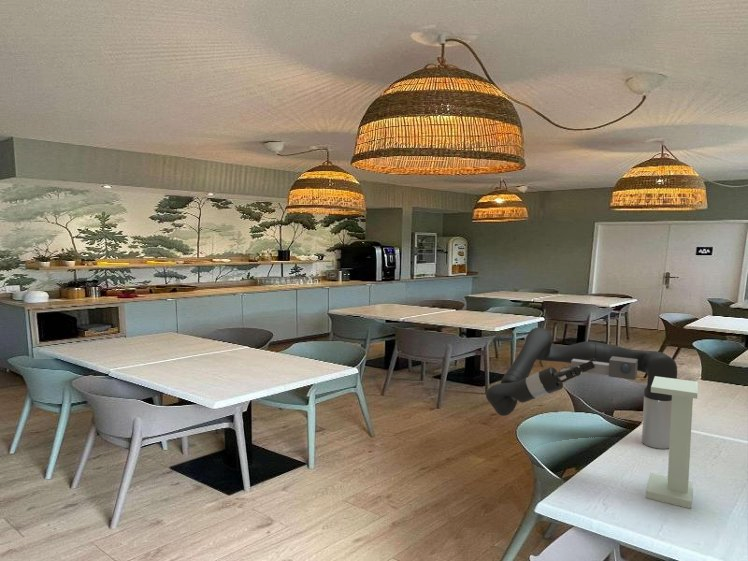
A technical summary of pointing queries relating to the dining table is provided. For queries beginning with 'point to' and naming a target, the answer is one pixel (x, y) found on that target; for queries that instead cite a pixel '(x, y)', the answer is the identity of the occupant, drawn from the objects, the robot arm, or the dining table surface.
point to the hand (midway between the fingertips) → (594, 362)
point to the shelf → (675, 444)
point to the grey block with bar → (613, 367)
